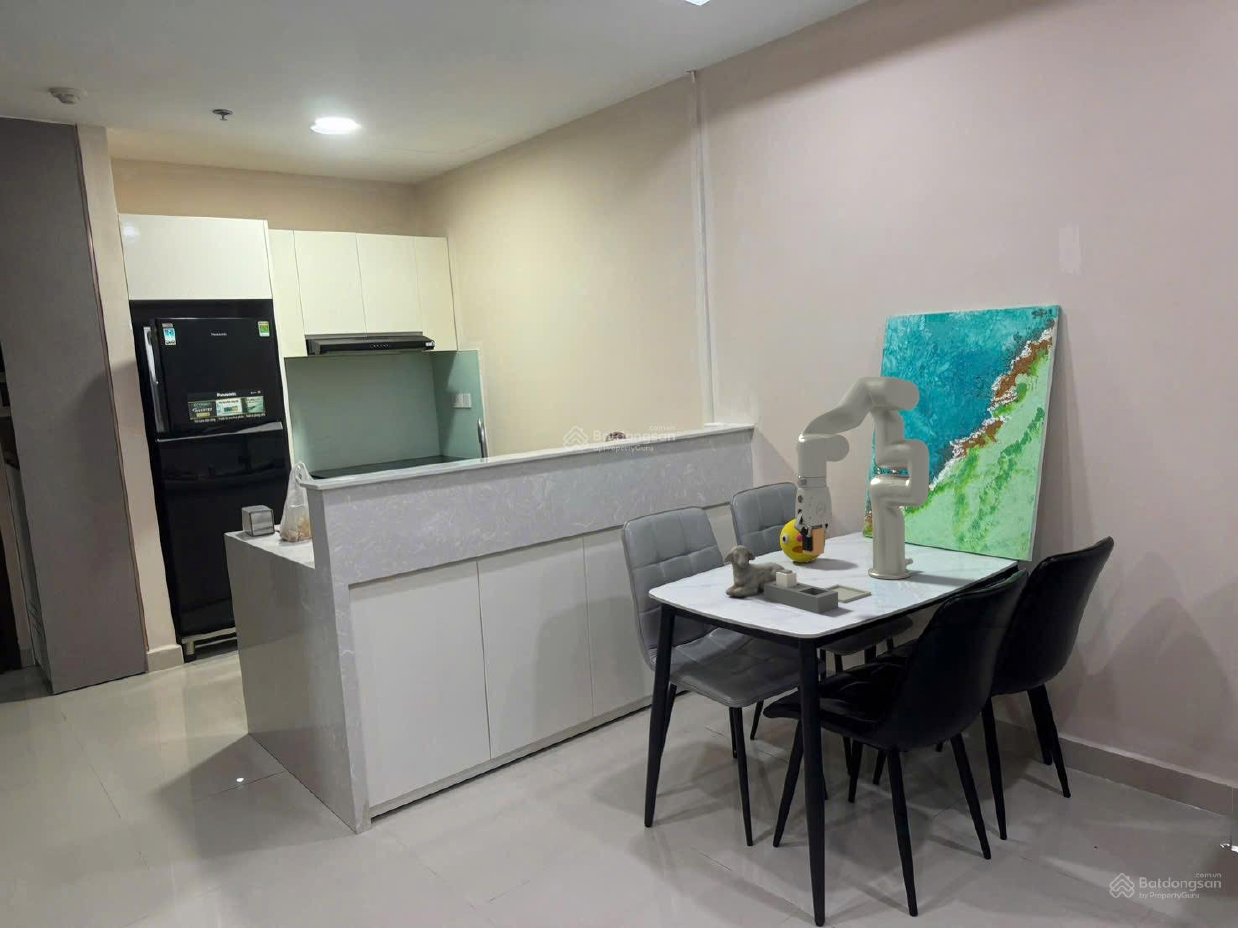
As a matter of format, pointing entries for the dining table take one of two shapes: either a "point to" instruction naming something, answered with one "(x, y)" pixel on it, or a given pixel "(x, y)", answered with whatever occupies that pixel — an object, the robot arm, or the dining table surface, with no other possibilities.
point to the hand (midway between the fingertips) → (813, 548)
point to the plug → (816, 540)
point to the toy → (794, 544)
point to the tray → (848, 593)
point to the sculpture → (749, 572)
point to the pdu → (799, 594)
